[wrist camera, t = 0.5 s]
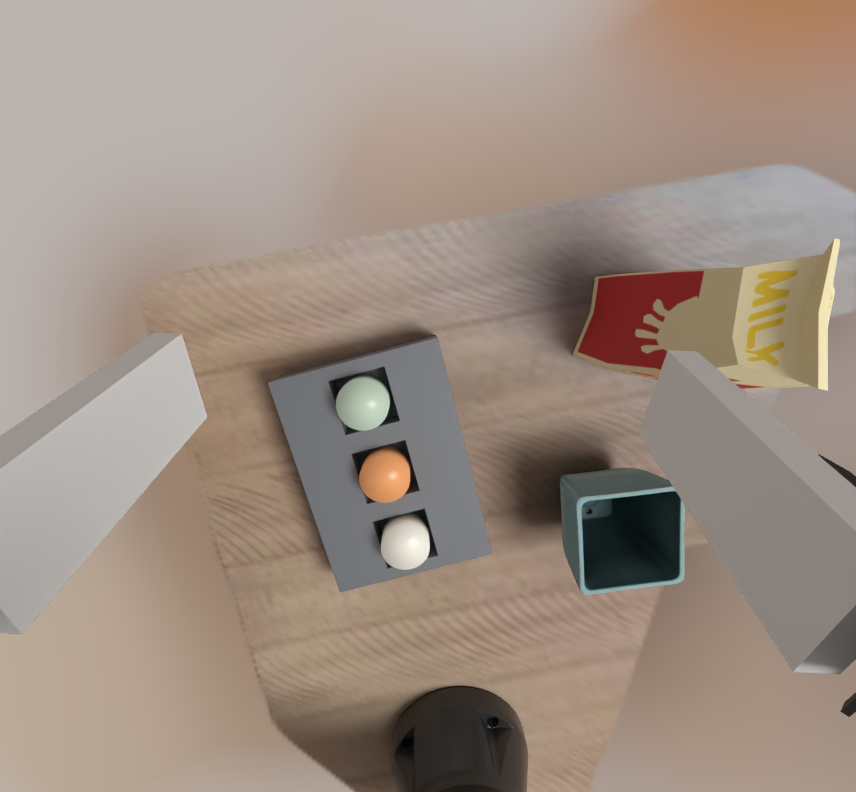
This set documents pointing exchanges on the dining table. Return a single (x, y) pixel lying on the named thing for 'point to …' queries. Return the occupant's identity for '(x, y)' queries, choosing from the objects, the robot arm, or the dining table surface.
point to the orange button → (385, 474)
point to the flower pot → (622, 530)
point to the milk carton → (718, 321)
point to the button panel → (402, 428)
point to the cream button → (405, 541)
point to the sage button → (363, 402)
